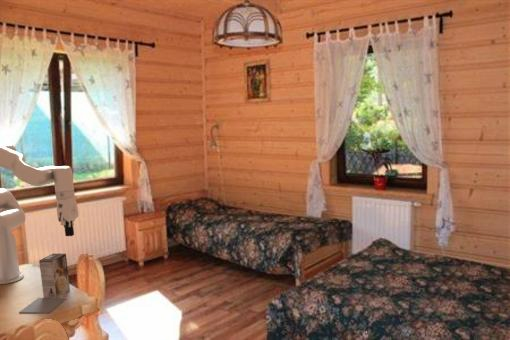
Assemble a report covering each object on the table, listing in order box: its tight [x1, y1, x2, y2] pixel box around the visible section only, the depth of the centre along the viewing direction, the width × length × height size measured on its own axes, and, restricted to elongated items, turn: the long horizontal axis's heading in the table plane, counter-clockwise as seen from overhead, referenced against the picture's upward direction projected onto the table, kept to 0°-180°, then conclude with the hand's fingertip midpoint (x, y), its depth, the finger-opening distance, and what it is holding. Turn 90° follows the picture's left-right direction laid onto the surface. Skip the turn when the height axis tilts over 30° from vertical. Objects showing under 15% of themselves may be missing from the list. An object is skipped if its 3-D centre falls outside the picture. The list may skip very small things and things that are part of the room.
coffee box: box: [38, 253, 71, 298], centre depth 186 cm, size 9×6×16 cm
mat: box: [18, 297, 68, 315], centre depth 176 cm, size 12×13×1 cm
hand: (69, 235), depth 198 cm, fingers closed
